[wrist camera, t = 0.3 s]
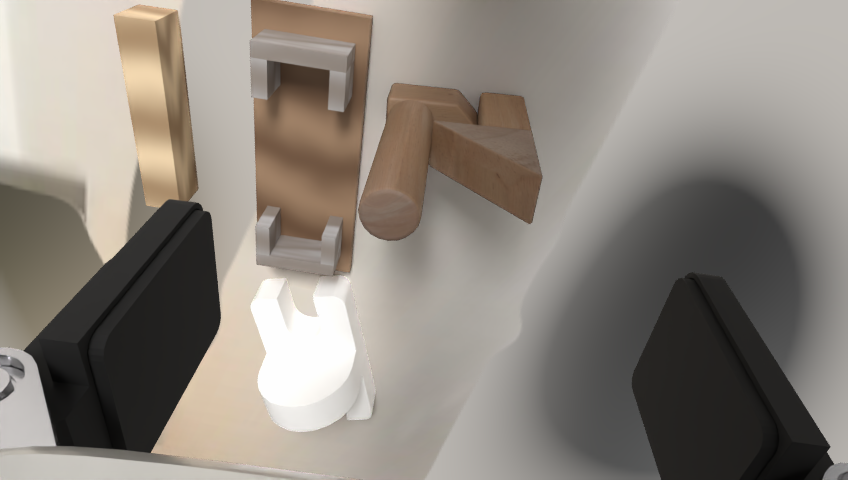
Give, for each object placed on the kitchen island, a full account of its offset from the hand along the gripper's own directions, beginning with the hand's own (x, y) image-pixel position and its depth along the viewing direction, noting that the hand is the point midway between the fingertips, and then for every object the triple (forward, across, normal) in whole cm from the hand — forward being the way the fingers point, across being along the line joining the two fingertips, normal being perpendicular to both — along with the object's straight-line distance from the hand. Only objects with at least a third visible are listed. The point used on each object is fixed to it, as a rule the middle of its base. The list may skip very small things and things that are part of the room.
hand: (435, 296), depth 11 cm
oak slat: (+36, +23, +12) cm, 45 cm away
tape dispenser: (+37, +9, +38) cm, 53 cm away
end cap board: (+36, +11, +14) cm, 40 cm away
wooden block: (+36, -1, +9) cm, 37 cm away
